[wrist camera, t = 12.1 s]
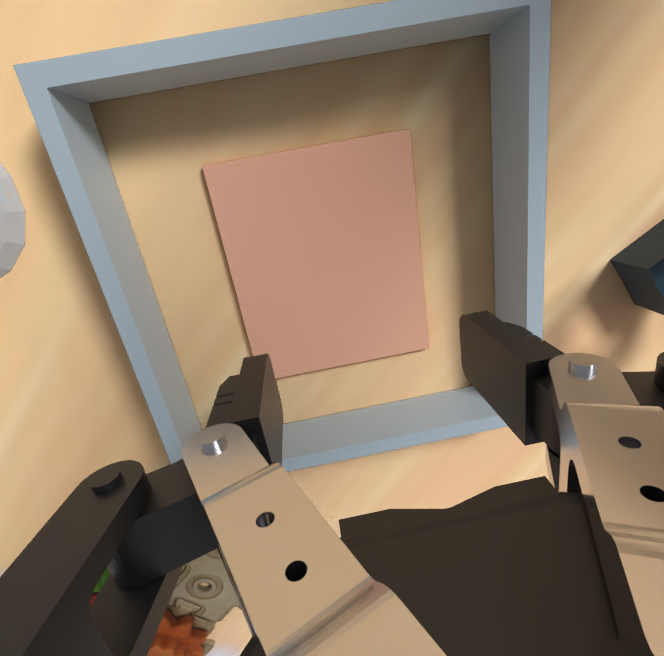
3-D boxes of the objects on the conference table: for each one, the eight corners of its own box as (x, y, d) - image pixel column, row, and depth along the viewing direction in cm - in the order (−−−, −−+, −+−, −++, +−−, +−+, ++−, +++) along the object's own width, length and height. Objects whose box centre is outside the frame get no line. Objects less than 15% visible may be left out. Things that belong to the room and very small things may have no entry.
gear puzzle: (164, 408, 29) (146, 444, 25) (340, 502, 33) (346, 544, 30) (-17, 658, 36) (-53, 715, 32) (150, 707, 40) (135, 762, 37)
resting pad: (203, 166, 23) (201, 166, 23) (407, 129, 23) (409, 128, 23) (260, 379, 28) (259, 381, 28) (427, 345, 28) (429, 348, 28)
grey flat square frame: (62, 84, 21) (13, 65, 17) (507, 8, 22) (552, -27, 18) (196, 453, 30) (182, 493, 26) (509, 389, 30) (540, 419, 27)
